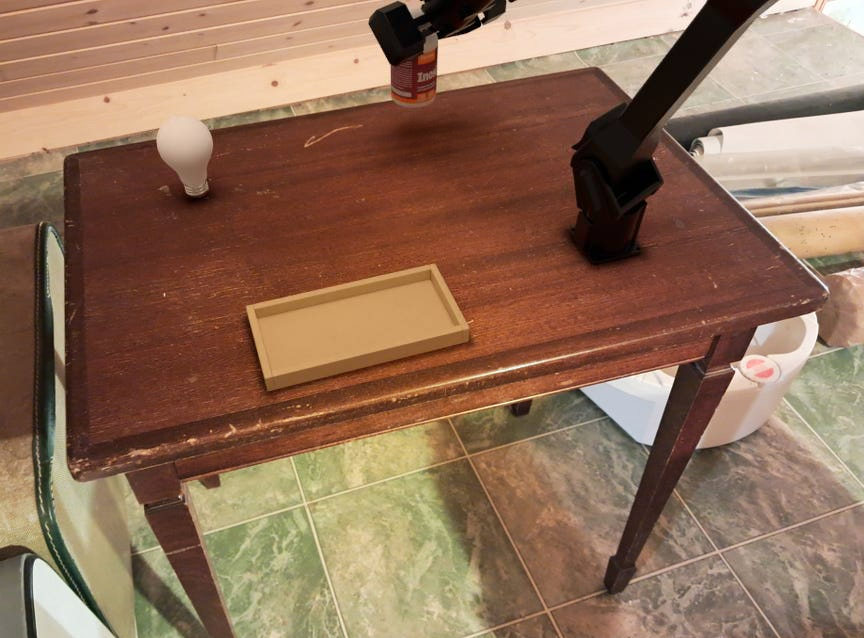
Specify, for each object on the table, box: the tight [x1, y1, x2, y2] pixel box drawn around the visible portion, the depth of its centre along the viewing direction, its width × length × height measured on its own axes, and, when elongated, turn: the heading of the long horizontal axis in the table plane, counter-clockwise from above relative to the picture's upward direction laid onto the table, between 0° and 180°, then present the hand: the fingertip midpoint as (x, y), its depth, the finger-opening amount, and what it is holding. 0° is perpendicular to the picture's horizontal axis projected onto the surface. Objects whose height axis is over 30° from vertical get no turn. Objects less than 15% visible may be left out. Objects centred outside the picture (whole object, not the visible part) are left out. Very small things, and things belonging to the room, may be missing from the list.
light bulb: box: [156, 114, 214, 199], centre depth 89 cm, size 7×7×11 cm
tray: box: [245, 263, 471, 392], centre depth 77 cm, size 22×11×2 cm, turn 107°
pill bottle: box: [390, 7, 439, 109], centre depth 94 cm, size 6×6×11 cm
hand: (406, 46), depth 94 cm, fingers closed on pill bottle, 6 cm apart
